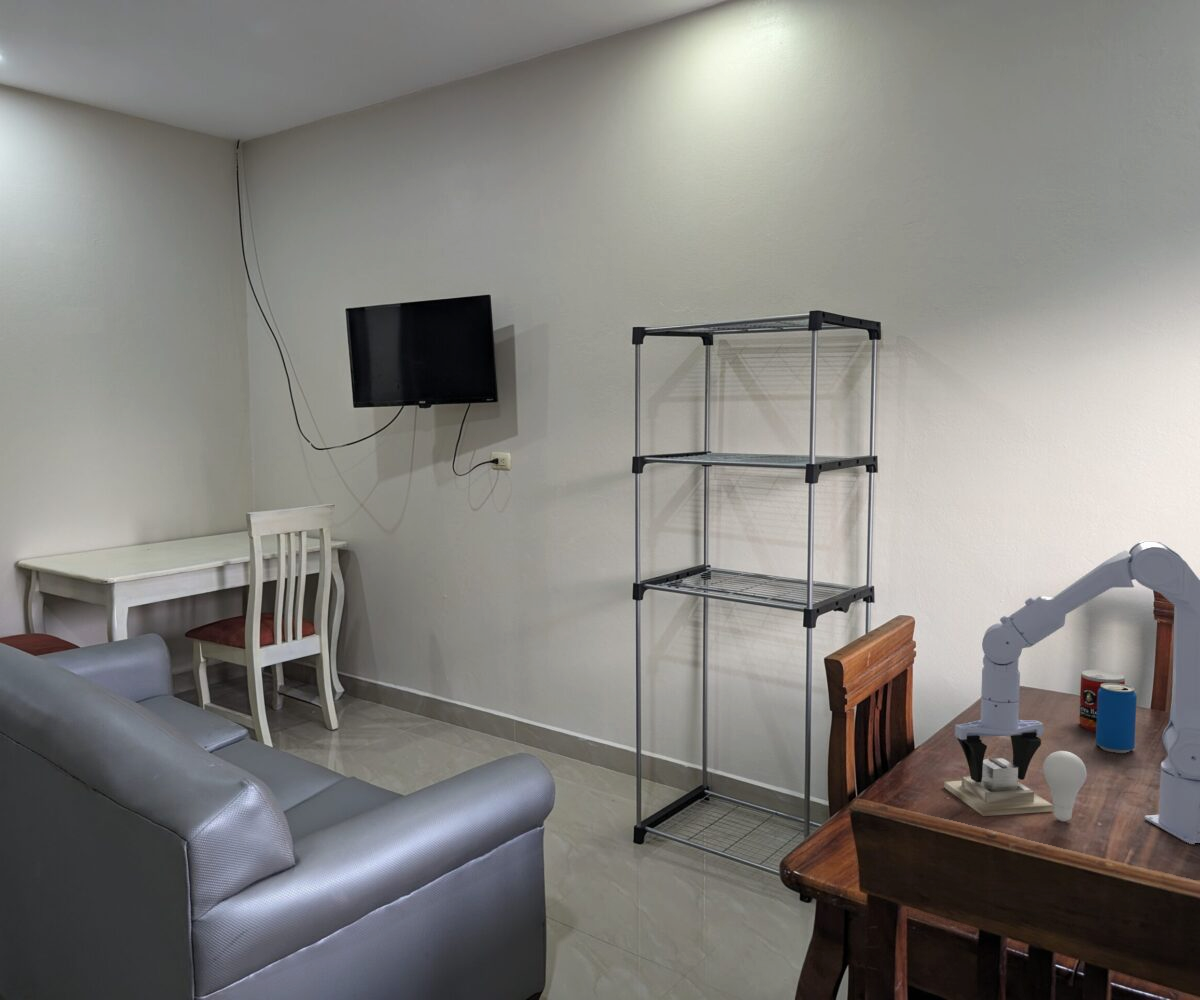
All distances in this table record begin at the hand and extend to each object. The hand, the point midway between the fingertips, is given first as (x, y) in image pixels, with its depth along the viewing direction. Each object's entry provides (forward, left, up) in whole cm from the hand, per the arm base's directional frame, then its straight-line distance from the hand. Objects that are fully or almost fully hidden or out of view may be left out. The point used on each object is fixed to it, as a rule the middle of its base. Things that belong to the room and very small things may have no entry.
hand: (997, 778), depth 155 cm
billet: (0, 0, -2) cm, 2 cm away
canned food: (+31, -42, -4) cm, 52 cm away
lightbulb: (-10, -5, -4) cm, 11 cm away
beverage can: (+19, -36, -4) cm, 41 cm away
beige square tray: (0, 0, -3) cm, 3 cm away
